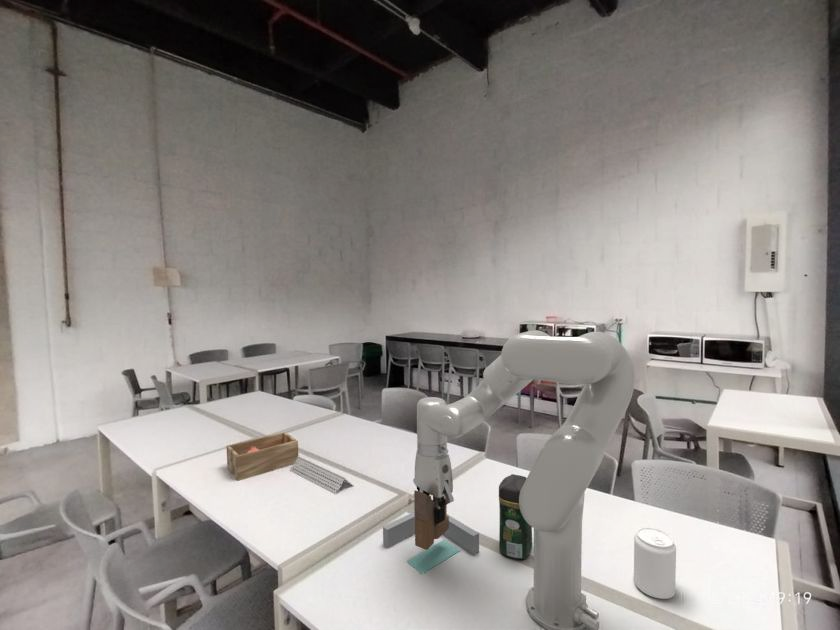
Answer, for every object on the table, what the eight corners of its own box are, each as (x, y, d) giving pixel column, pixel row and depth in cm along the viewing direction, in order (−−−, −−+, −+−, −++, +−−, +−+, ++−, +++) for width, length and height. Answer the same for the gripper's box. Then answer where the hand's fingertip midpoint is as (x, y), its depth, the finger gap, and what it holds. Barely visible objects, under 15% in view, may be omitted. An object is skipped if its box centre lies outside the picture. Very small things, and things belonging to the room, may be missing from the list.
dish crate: (298, 462, 160) (297, 440, 160) (238, 480, 146) (237, 456, 145) (285, 452, 171) (284, 431, 171) (227, 468, 156) (226, 445, 156)
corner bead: (355, 487, 141) (355, 473, 141) (334, 497, 134) (334, 482, 134) (308, 464, 160) (307, 452, 160) (287, 472, 153) (287, 459, 153)
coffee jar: (505, 534, 111) (505, 469, 110) (534, 542, 107) (534, 475, 106) (495, 555, 102) (494, 484, 101) (526, 564, 99) (526, 491, 98)
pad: (460, 550, 104) (459, 550, 104) (422, 574, 96) (422, 573, 96) (444, 540, 109) (444, 539, 109) (406, 561, 100) (406, 560, 100)
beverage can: (660, 574, 95) (661, 525, 94) (683, 600, 86) (685, 547, 86) (626, 575, 94) (627, 526, 94) (647, 602, 86) (647, 548, 86)
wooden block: (414, 545, 99) (413, 475, 98) (437, 524, 108) (437, 459, 106) (426, 551, 97) (426, 479, 96) (449, 529, 106) (449, 462, 104)
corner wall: (479, 551, 104) (478, 533, 104) (430, 583, 93) (429, 562, 93) (430, 520, 118) (430, 504, 118) (383, 544, 107) (382, 526, 107)
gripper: (466, 453, 97) (467, 526, 98) (421, 434, 110) (422, 499, 111) (444, 462, 92) (444, 539, 93) (399, 441, 105) (400, 509, 106)
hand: (432, 516), depth 102 cm, fingers closed on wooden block, 4 cm apart
